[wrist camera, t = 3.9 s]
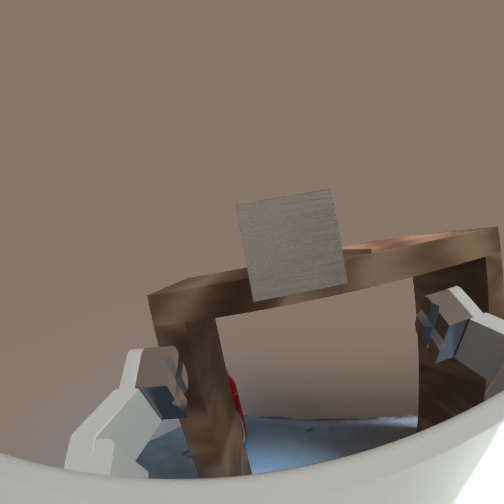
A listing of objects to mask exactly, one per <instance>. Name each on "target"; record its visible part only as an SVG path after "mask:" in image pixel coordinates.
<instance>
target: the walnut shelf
mask: <svg viewBox="0 0 504 504" xmlns="http://www.w3.org/2000/svg"><path fill="white" fill-rule="evenodd" d="M342 251H343V257H344V263H345V270H346V276H347V283H346V284H341V285H337V286H332V287H327V288H322V289H317V290H312V291H308V292H303V293H297V294H292V295H287V296H282V297H277V298H271V299H266V300H261V301H255V302H253V297H252V291H251V286H250V280H249V275H248V269H247V268H243V269H237V270H231V271H226V272H221V273H215V274H209V275H203V276H198V277H192V278H187V279H185V280H182V281H180V282H178V283H175V284H173V285H171V286H168V287H166V288H164V289H161V290H159V291H157V292H154V293H152V294H150V295H147V296H148V301H149V306H150V311H151V315H152V320H153V324H154V329H155V332H156V337H157V341H158V345H159V347H166V346H175V347H176V349H177V351H178V353H179V357H178V360H180V361H181V362H183V363H184V366H185V368H186V372H187V377H188V390H187V391H186V392H185V394H184V396H185V397H186V399H187V417H186V418H179V420H180V423H181V426H182V429H183V432H184V435H185V438H186V441H187V444H188V447H189V449H190V452H191V455H192V458H193V461H194V463H195V466H196V469H197V471H198V474H199V477H200V478H219V477H232V476H242V475H252V472H251V468H250V464H249V461H248V457H247V453H246V449H245V445H244V442H243V438H242V434H241V430H240V426H239V422H238V418H237V414H236V410H235V405H234V401H233V397H232V393H231V389H230V384H229V380H228V376H227V371H226V367H225V362H224V358H223V353H222V349H221V344H220V339H219V335H218V330H217V325H216V321H215V318H217V317H223V316H229V315H235V314H241V313H247V312H253V311H258V310H263V309H269V308H274V307H279V306H285V305H290V304H295V303H300V302H305V301H310V300H315V299H320V298H324V297H329V296H334V295H338V294H343V293H347V292H352V291H356V290H360V289H365V288H369V287H373V286H378V285H382V284H386V283H390V282H394V281H398V280H402V279H406V278H409V277H413V283H414V292H415V301H416V314H417V315H418V313H419V312H420V311H421V310H422V309H421V308H420V306H419V304H420V300H421V298H422V297H423V296H426V295H429V294H433V293H436V292H439V291H442V290H446V289H449V288H452V287H455V286H458V287H460V288H461V289H462V290H463V291H464V292H465V293H466V294H467V295H468V296H469V297H470V299H471V300H472V301H473V302H474V303H475V304H476V305H477V307H478V308H479V309H480V310H481V311H482V312H483V313H486V312H487V313H489V314H491V315H493V316H496V317H498V318H500V319H503V320H504V285H503V270H502V258H501V249H500V240H499V232H498V227H488V228H479V229H469V230H459V231H449V232H439V233H429V234H420V235H415V236H405V237H395V238H386V239H381V240H376V241H371V242H365V243H360V244H355V245H350V246H345V247H342ZM427 345H428V344H426V343H424V342H422V341H421V340H420V338H419V337H418V348H419V349H418V351H419V406H418V426H417V433H418V432H420V431H423V430H425V429H428V428H430V427H432V426H435V425H437V424H439V423H442V422H444V421H446V420H448V419H450V418H452V417H454V416H457V415H459V414H461V413H463V412H465V411H467V410H469V409H471V408H473V407H474V406H476V405H478V404H480V403H482V402H484V401H486V400H487V399H486V397H485V392H486V390H487V388H488V387H489V385H490V384H491V382H490V381H488V380H487V379H485V378H484V377H482V376H481V375H479V374H478V373H476V372H475V371H473V370H472V369H470V368H469V367H467V366H466V365H464V364H463V363H461V362H460V361H458V360H457V359H455V358H454V357H455V356H454V357H452V358H449V359H446V360H443V361H441V362H438V363H434V361H433V359H432V358H431V356H430V354H429V353H428V351H427Z"/></svg>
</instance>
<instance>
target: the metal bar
mask: <svg viewBox="0 0 504 504" xmlns="http://www.w3.org/2000/svg"><path fill="white" fill-rule="evenodd" d="M236 209H237V214H238V220H239V225H240V231H241V236H242V242H243V247H244V253H245V258H246V264H247V269H248V275H249V280H250V286H251V291H252V297H253V302H255V301H261V300H266V299H271V298H277V297H282V296H287V295H292V294H297V293H303V292H308V291H312V290H317V289H322V288H327V287H332V286H337V285H341V284H346V283H347V276H346V270H345V263H344V257H343V251H342V246H341V240H340V234H339V229H338V224H337V218H336V213H335V208H334V203H333V199H332V194H331V190H330V189H327V190H320V191H313V192H307V193H300V194H294V195H288V196H282V197H276V198H270V199H264V200H258V201H253V202H248V203H242V204H236Z"/></svg>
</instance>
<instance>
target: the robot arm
mask: <svg viewBox="0 0 504 504" xmlns="http://www.w3.org/2000/svg"><path fill="white" fill-rule="evenodd" d="M419 306H420V308H421V309H422V310H421V311H420V312H419V313H418V315H417V317H416V322H415V325H416V332H417V334H418V337H419V338H420V340H421V341H422V342H424V343H426V344H428V345H427V351H428V353H429V354H430V356H431V358H432V359H433V361H434V363H438V362H441V361H443V360H446V359H449V358H452V357H454V356H455V357H454V358H455V359H457V360H458V361H460V362H461V363H463V364H464V365H466V366H467V367H469V368H470V369H472V370H473V371H475V372H476V373H478V374H479V375H481V376H482V377H484V378H485V379H487V380H488V381H490V382H491V384H490V385H489V387H488V388H487V390H486V392H485V397H486V399H487V400H486V401H484V402H482V403H480V404H478V405H476V406H474V407H473V408H471V409H469V410H467V411H465V412H463V413H461V414H459V415H457V416H454V417H452V418H450V419H448V420H446V421H444V422H442V423H439V424H437V425H435V426H432V427H430V428H428V429H425V430H423V431H420V432H418V433H415V434H413V435H410V436H408V437H405V438H402V439H400V440H397V441H394V442H391V443H388V444H385V445H382V446H379V447H376V448H373V449H370V450H367V451H363V452H360V453H356V454H353V455H349V456H346V457H342V458H338V459H334V460H330V461H326V462H321V463H317V464H312V465H307V466H303V467H297V468H292V469H286V470H280V471H274V472H267V473H260V474H252V475H242V476H232V477H219V478H200V479H153V478H148V477H149V472H148V471H147V470H146V469H145V468H143V467H142V466H141V465H140V464H139V463H137V462H136V459H137V458H138V456H139V455H140V453H141V452H142V450H143V449H144V447H145V446H146V444H147V443H148V441H149V440H150V438H151V437H152V435H153V434H154V432H155V431H156V429H157V428H158V426H159V425H160V423H161V422H162V419H176V418H186V417H187V399H186V397H185V396H184V394H185V392H186V391H187V390H188V377H187V372H186V368H185V366H184V363H183V362H181V361H180V360H178V357H179V353H178V351H177V349H176V347H175V346H166V347H155V348H144V349H131V350H130V351H129V352H128V354H127V358H126V362H125V366H124V370H123V374H122V378H121V382H120V387H119V389H115V390H114V391H113V392H112V393H111V394H110V395H109V396H108V397H107V398H106V399H105V400H104V401H103V402H102V403H101V404H100V406H99V407H98V408H97V409H96V410H95V411H94V412H93V413H92V414H91V415H90V416H89V417H88V418H87V419H86V420H85V421H84V422H83V423H82V424H81V426H79V428H77V430H76V431H75V432H74V433H73V434H72V435H71V439H70V443H69V447H68V451H67V456H66V461H65V465H64V468H59V467H53V466H49V465H44V464H40V463H36V462H32V461H28V460H24V459H21V458H17V457H13V456H10V455H7V454H4V453H1V452H0V504H504V320H503V319H500V318H498V317H496V316H493V315H491V314H489V313H487V312H486V313H483V312H482V311H481V310H480V309H479V308H478V307H477V305H476V304H475V303H474V302H473V301H472V300H471V299H470V297H469V296H468V295H467V294H466V293H465V292H464V291H463V290H462V289H461V288H460V287H458V286H455V287H452V288H449V289H446V290H442V291H439V292H436V293H433V294H429V295H426V296H423V297H422V298H421V300H420V304H419Z"/></svg>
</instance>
